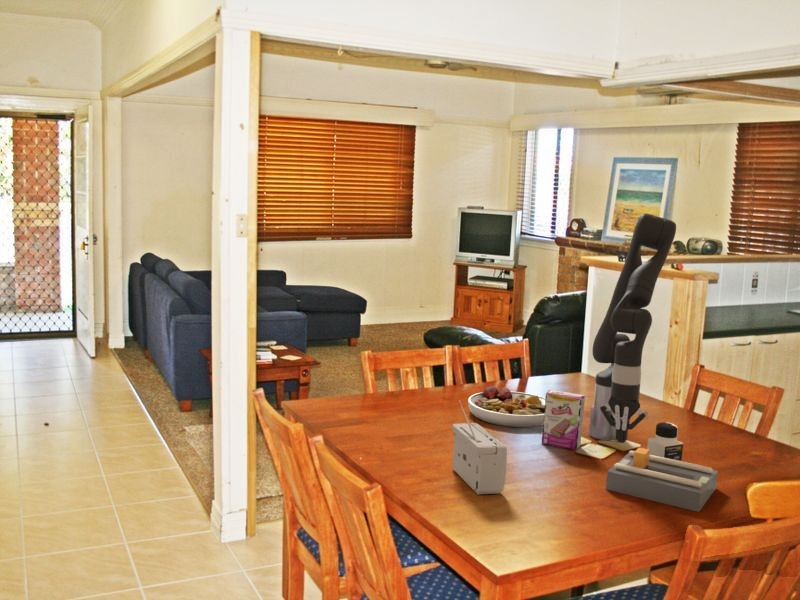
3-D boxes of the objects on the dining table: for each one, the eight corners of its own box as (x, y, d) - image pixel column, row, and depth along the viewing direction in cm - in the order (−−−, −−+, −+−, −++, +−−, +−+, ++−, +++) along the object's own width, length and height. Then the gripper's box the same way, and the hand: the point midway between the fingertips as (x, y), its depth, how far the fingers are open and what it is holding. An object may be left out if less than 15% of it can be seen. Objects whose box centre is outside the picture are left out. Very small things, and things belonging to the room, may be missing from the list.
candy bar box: (540, 444, 261) (545, 392, 259) (545, 440, 266) (549, 388, 263) (577, 451, 257) (581, 398, 254) (581, 446, 261) (585, 394, 259)
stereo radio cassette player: (505, 495, 219) (511, 420, 216) (475, 497, 217) (480, 421, 214) (475, 467, 239) (480, 397, 236) (447, 468, 237) (452, 398, 233)
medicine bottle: (663, 469, 245) (667, 429, 243) (645, 461, 251) (649, 421, 249) (681, 466, 248) (685, 426, 246) (663, 458, 254) (667, 419, 252)
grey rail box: (605, 489, 227) (607, 465, 226) (628, 468, 244) (630, 446, 243) (698, 511, 215) (701, 486, 213) (715, 488, 231) (718, 465, 230)
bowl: (575, 423, 287) (577, 400, 285) (507, 435, 270) (509, 411, 269) (515, 400, 311) (516, 379, 310) (449, 410, 294) (451, 388, 293)
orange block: (632, 466, 230) (633, 451, 229) (637, 461, 234) (639, 447, 234) (643, 468, 229) (645, 454, 228) (648, 463, 233) (650, 449, 232)
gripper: (654, 381, 231) (648, 443, 234) (606, 374, 238) (601, 434, 240) (646, 387, 225) (641, 450, 227) (597, 379, 231) (592, 440, 234)
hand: (620, 442), depth 234 cm, fingers closed
